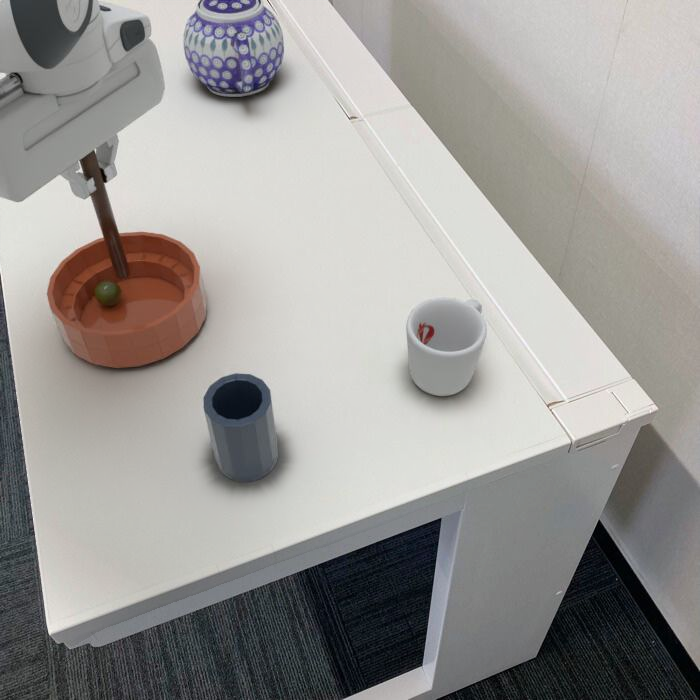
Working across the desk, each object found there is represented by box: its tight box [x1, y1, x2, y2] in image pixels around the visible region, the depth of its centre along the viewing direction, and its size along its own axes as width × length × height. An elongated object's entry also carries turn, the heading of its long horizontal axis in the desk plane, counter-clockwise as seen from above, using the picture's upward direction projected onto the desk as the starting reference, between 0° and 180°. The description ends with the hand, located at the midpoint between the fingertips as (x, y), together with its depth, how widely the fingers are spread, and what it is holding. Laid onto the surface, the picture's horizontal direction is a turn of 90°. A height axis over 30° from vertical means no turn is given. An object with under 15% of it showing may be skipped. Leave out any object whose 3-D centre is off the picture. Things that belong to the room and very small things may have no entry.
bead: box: [94, 280, 122, 306], centre depth 88 cm, size 3×3×3 cm
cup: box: [405, 297, 488, 397], centre depth 80 cm, size 11×8×8 cm
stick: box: [78, 149, 130, 280], centre depth 76 cm, size 2×2×20 cm
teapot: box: [183, 0, 285, 98], centre depth 118 cm, size 25×15×15 cm, turn 12°
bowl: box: [46, 231, 208, 369], centre depth 86 cm, size 16×16×6 cm
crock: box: [202, 372, 279, 483], centre depth 72 cm, size 6×6×9 cm
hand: (96, 185), depth 75 cm, fingers closed on stick, 1 cm apart
